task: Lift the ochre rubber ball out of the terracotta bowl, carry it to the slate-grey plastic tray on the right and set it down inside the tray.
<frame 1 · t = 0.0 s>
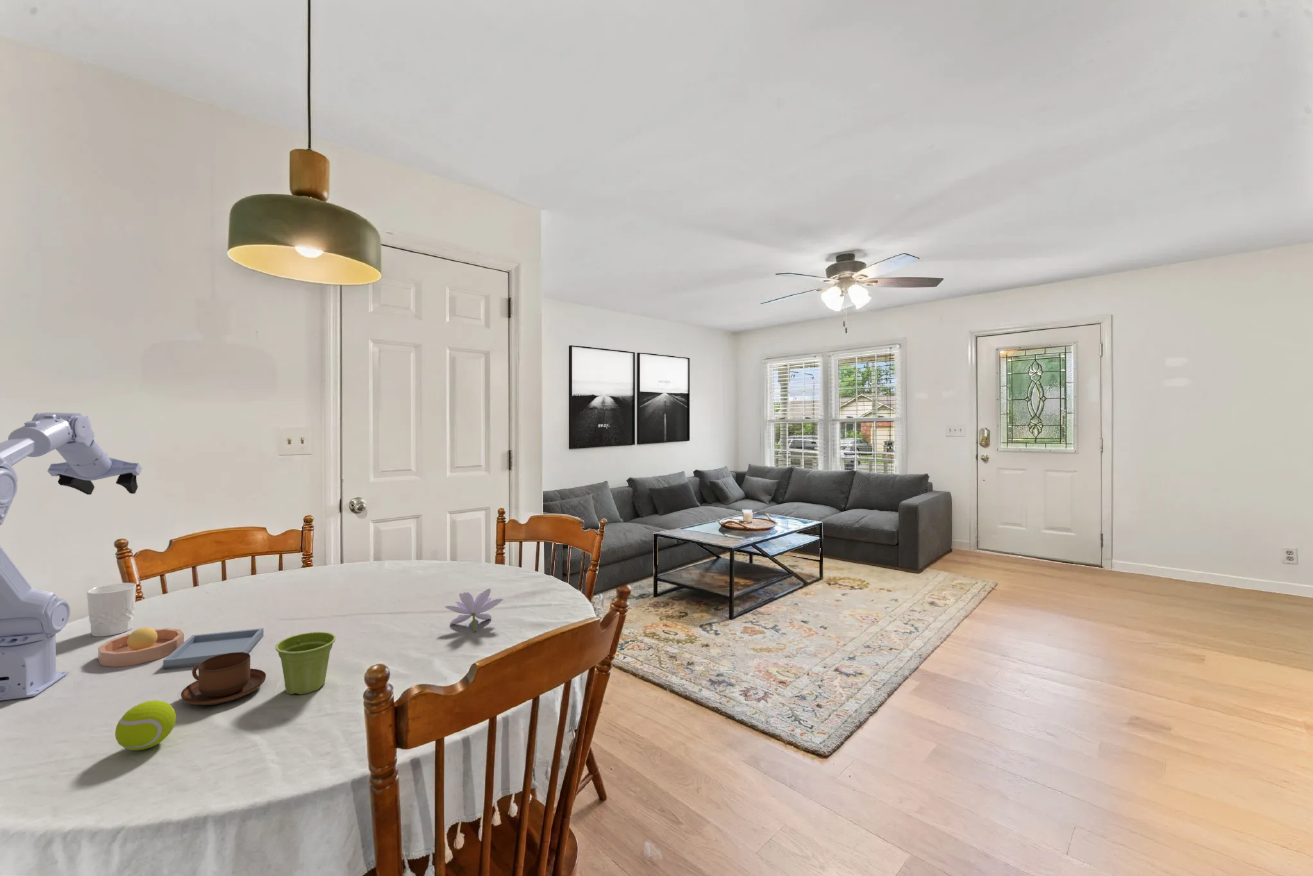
hand: (113, 490, 122), 32 cm above the table, tool tilted 50°, fingers open, 7 cm apart
cup and saucer: (225, 695, 97), on the table
water lily: (475, 626, 132), on the table
bowl: (142, 652, 112), on the table
tennis ball: (146, 747, 81), on the table
ball: (142, 639, 112), point 3 cm above the table, touching bowl
plant pot: (306, 688, 100), on the table
tray: (217, 651, 114), on the table
white cup: (112, 631, 123), on the table
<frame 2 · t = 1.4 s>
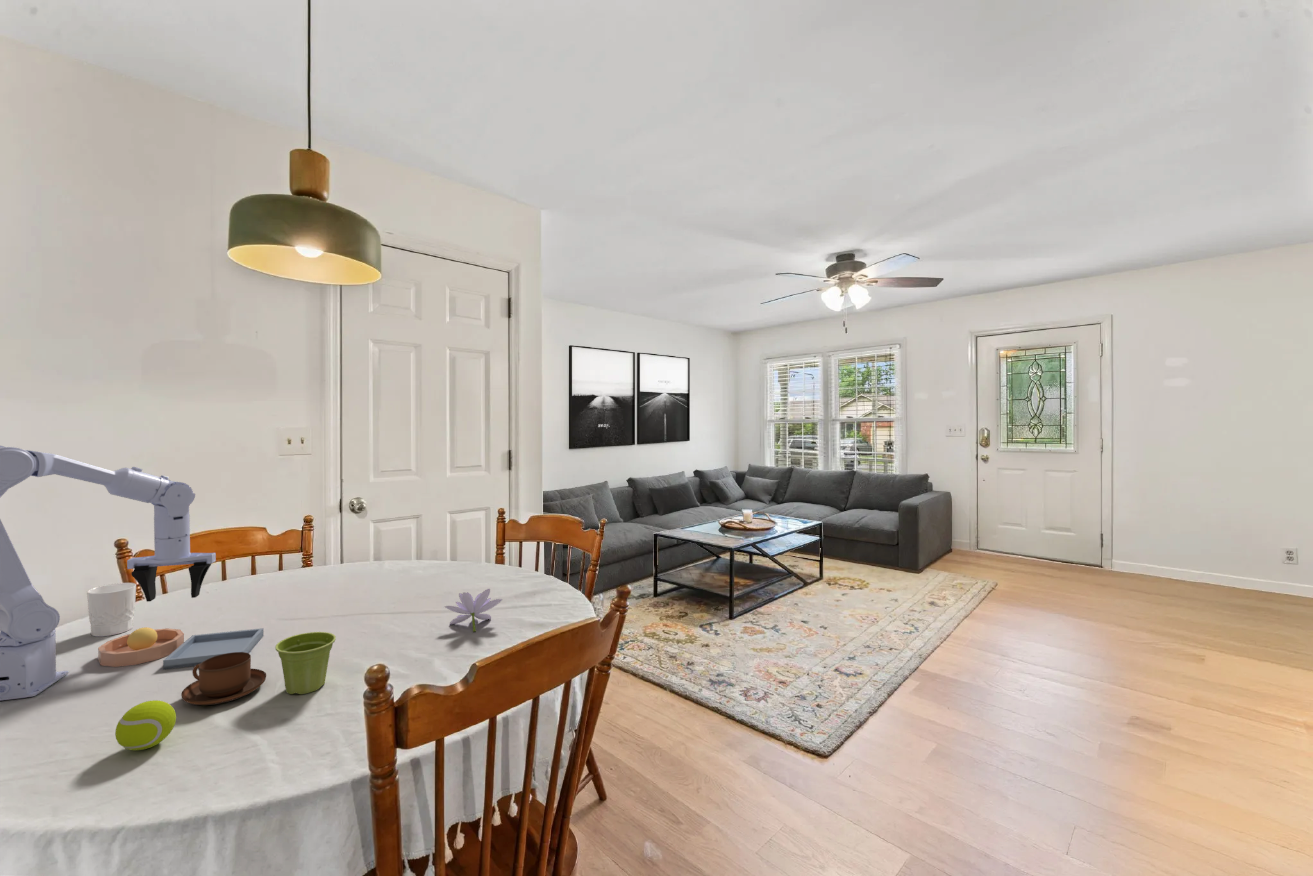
hand: (173, 598, 117), 10 cm above the table, tool pointing down, fingers open, 7 cm apart
nothing on the table moved.
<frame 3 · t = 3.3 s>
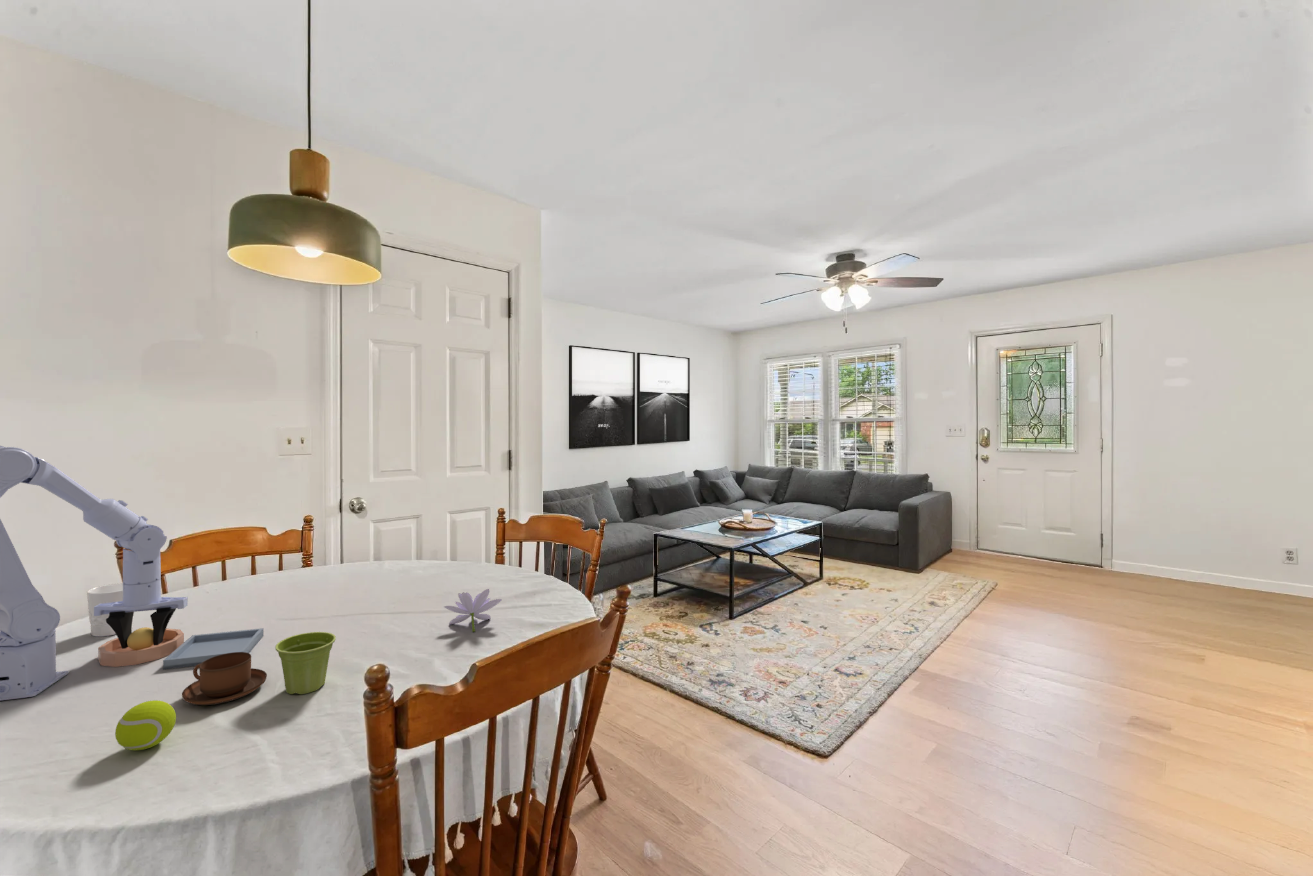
hand: (142, 645, 112), 2 cm above the table, tool pointing down, fingers closed on ball, 5 cm apart
ball: (142, 639, 112), point 3 cm above the table, touching bowl, gripper
everything else where it was.
when the fingers open (3 cm above the table, at t = 6.7 s): ball drops 1 cm, resting on tray.
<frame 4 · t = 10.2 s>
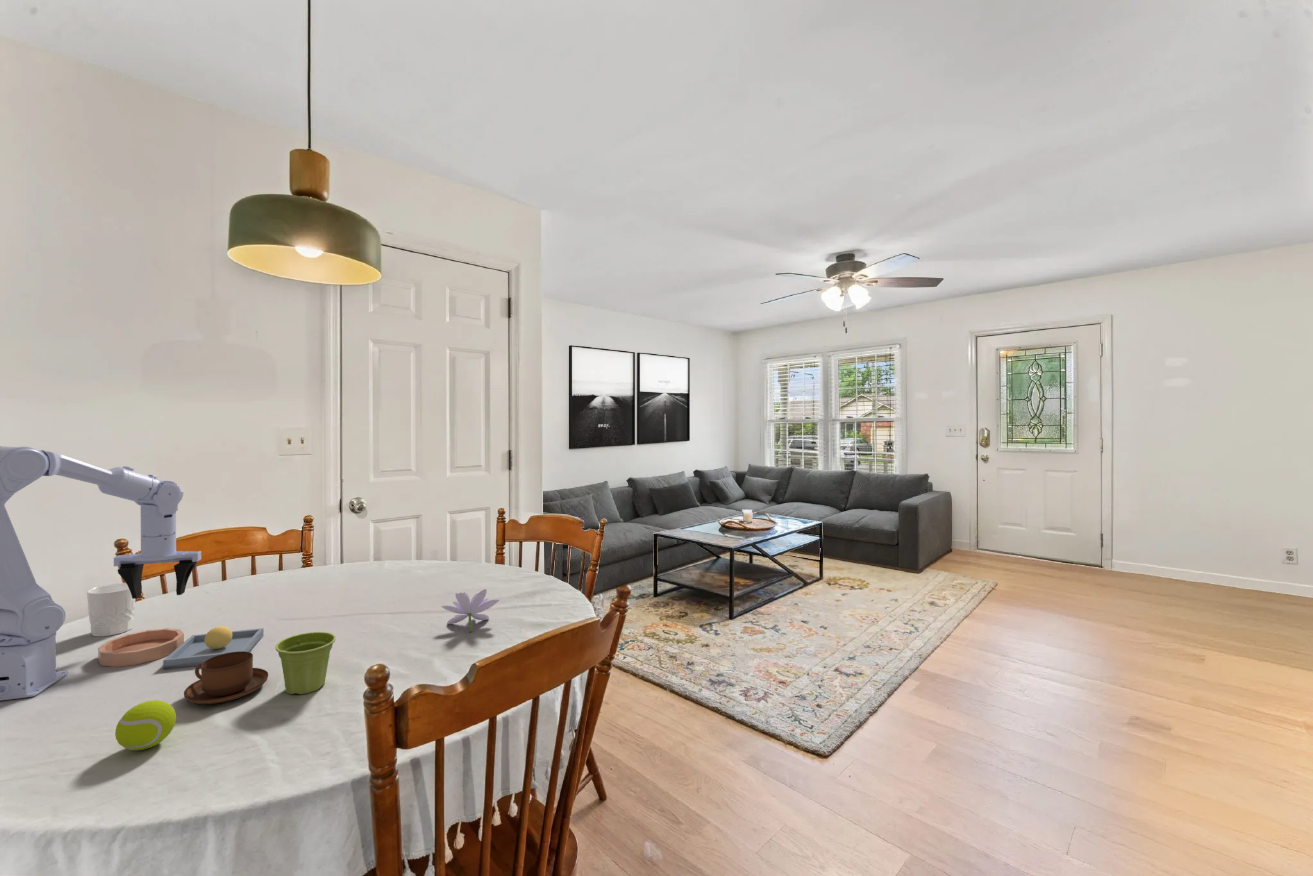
hand: (159, 595, 119), 10 cm above the table, tool pointing down, fingers open, 7 cm apart
ball: (218, 637, 114), point 3 cm above the table, tilted 6°, touching tray
everything else where it was.
at the end: ball inside the target area on the tray (0.3 cm from its centre), point 2.9 cm above the tray's base; the gripper is holding nothing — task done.
